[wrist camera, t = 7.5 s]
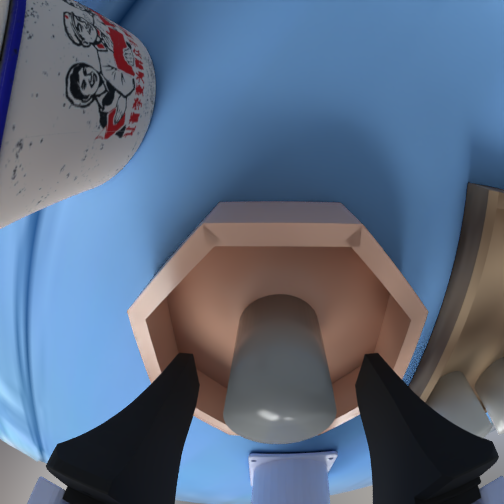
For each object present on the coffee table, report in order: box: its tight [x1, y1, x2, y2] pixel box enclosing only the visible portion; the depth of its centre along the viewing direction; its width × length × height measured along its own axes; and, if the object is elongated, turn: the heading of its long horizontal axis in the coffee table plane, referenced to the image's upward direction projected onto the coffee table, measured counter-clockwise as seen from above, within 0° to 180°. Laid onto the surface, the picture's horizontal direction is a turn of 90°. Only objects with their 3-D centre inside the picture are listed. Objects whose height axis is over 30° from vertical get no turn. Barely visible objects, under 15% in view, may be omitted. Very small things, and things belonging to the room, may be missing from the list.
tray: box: [408, 183, 504, 413], centre depth 13 cm, size 20×13×2 cm, turn 2°
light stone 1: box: [425, 371, 492, 438], centre depth 13 cm, size 4×4×6 cm
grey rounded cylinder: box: [223, 294, 337, 444], centre depth 11 cm, size 4×4×6 cm
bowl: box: [127, 201, 428, 436], centre depth 13 cm, size 13×13×3 cm
